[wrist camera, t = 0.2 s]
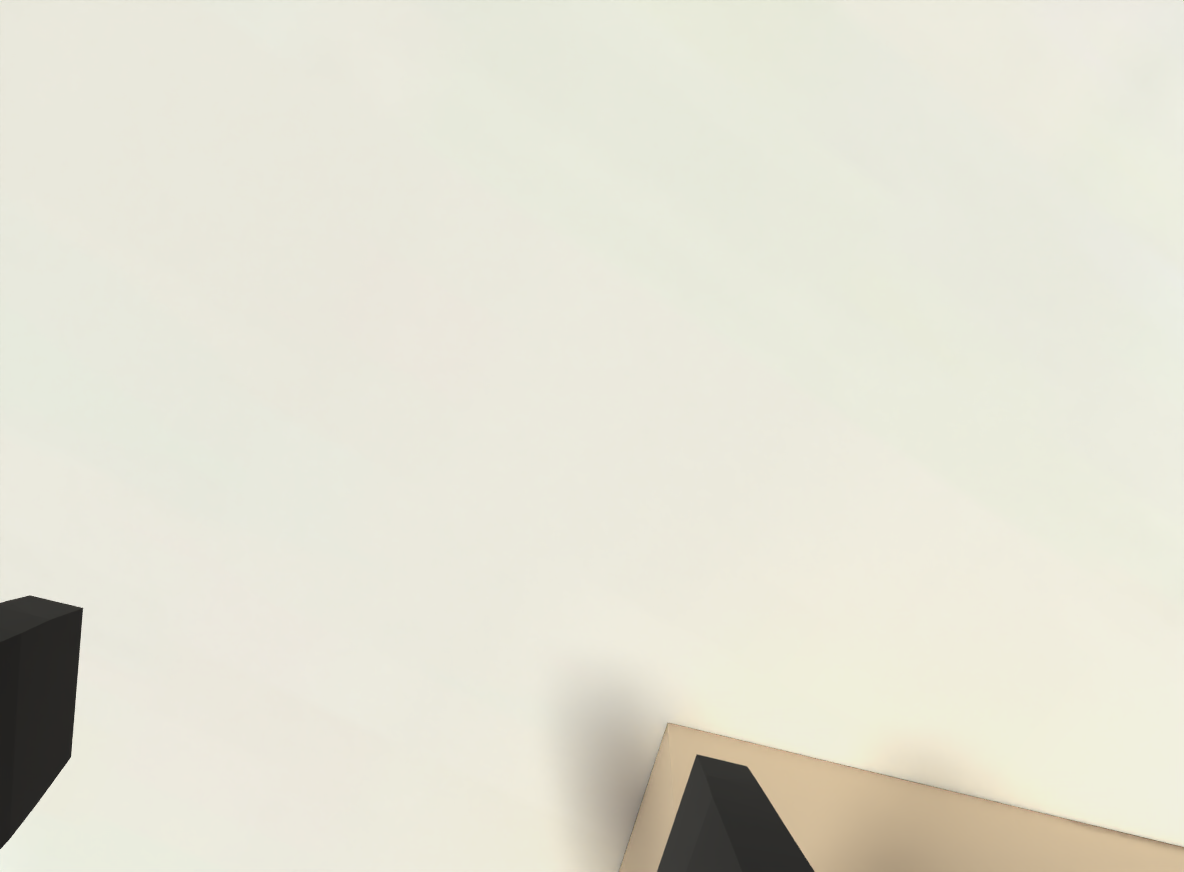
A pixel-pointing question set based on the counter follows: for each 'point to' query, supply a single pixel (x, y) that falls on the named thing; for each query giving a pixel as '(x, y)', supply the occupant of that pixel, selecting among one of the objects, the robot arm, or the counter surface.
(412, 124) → the counter surface
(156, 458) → the counter surface
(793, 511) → the counter surface
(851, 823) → the box
